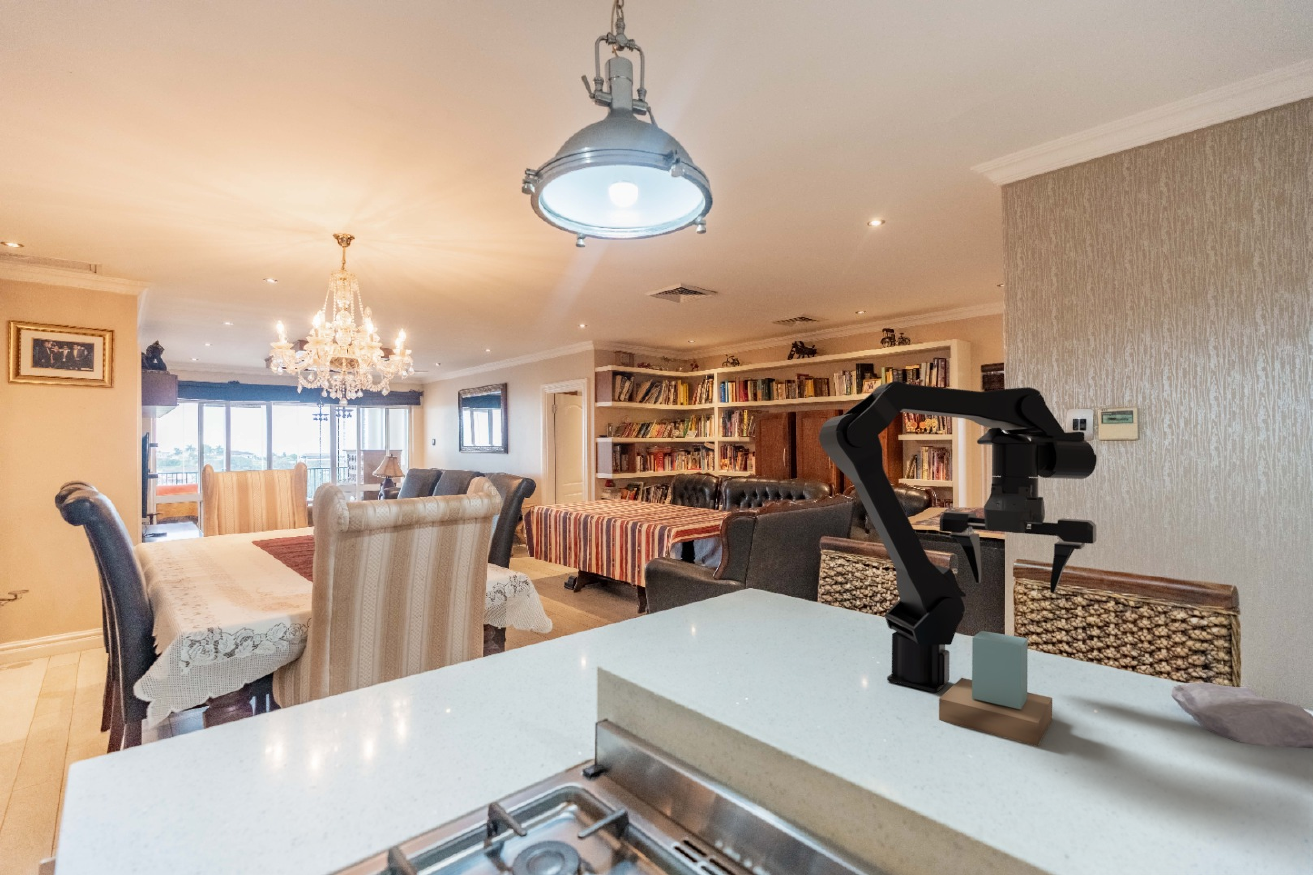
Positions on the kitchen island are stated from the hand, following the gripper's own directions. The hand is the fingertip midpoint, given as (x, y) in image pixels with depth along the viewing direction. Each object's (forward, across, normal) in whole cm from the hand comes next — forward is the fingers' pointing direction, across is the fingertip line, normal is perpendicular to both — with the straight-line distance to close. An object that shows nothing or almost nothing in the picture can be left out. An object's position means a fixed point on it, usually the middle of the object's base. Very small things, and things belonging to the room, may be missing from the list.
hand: (1014, 587), depth 88 cm
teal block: (+10, +1, -17) cm, 20 cm away
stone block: (+14, +23, +2) cm, 26 cm away
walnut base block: (+14, +1, -17) cm, 22 cm away
